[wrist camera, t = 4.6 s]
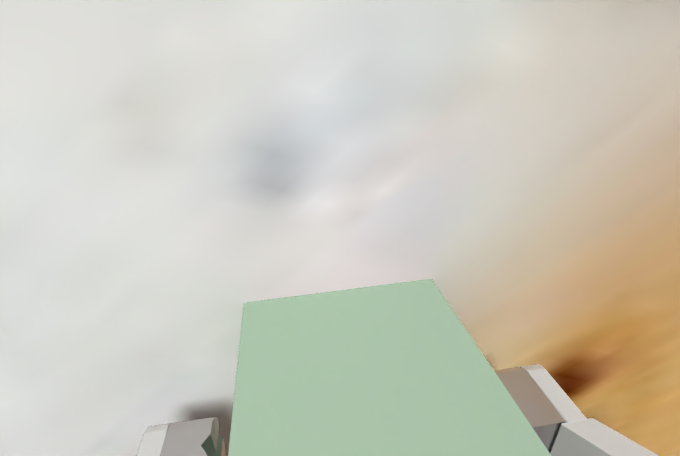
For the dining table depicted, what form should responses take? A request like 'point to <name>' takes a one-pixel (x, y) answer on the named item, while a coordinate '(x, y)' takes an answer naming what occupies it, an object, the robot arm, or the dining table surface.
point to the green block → (369, 380)
